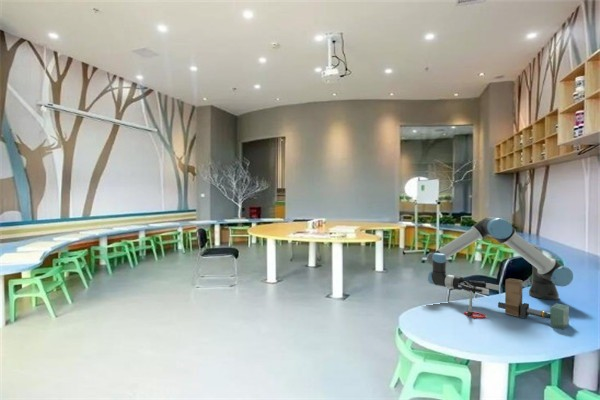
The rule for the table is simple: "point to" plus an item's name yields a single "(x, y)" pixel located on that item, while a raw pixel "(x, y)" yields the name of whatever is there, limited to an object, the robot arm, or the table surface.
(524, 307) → the collar
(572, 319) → the table surface
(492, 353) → the table surface
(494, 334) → the table surface
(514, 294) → the sleeve
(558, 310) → the rod stand
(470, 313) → the tow hook
